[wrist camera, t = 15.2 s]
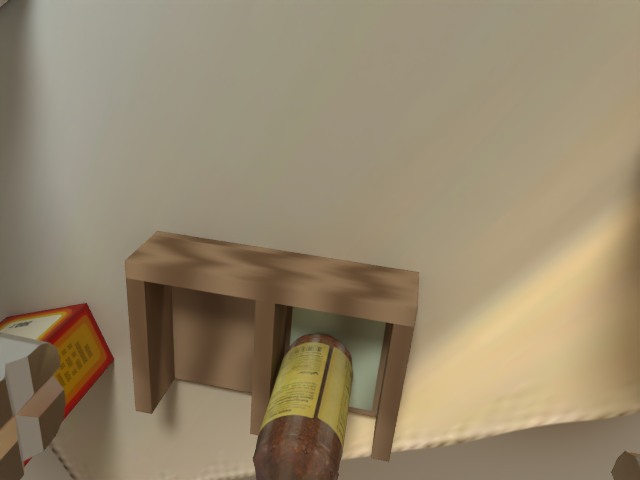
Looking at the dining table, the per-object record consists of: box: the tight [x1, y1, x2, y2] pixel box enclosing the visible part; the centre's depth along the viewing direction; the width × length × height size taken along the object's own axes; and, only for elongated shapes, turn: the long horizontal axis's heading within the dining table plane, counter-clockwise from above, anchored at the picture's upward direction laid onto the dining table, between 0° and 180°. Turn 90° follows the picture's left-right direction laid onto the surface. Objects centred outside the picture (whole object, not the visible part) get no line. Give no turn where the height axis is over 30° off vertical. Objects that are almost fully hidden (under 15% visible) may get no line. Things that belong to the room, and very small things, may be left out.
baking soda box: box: [0, 303, 114, 467], centre depth 49 cm, size 10×6×16 cm
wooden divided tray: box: [125, 231, 419, 461], centre depth 48 cm, size 22×15×6 cm, turn 85°
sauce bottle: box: [253, 334, 353, 480], centre depth 41 cm, size 7×6×20 cm
